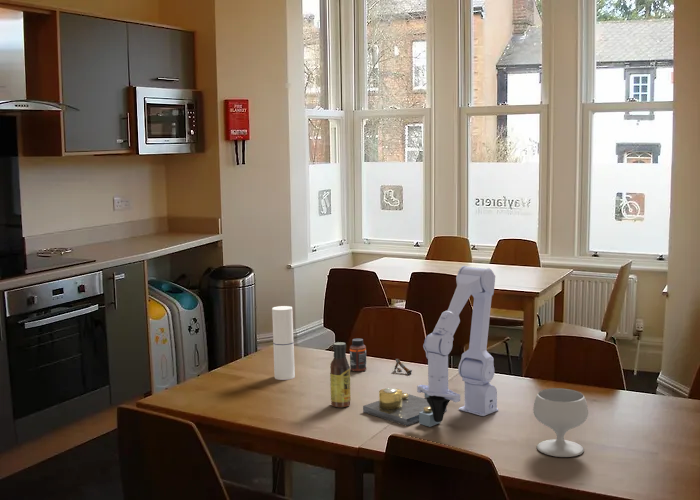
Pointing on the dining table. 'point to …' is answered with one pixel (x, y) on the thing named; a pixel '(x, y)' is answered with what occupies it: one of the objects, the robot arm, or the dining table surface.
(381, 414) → the base
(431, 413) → the block with brass knob
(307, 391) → the dining table surface
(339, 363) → the sauce bottle
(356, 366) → the supplement bottle
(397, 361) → the brown angled frame
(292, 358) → the cylindrical container
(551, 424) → the chalice
